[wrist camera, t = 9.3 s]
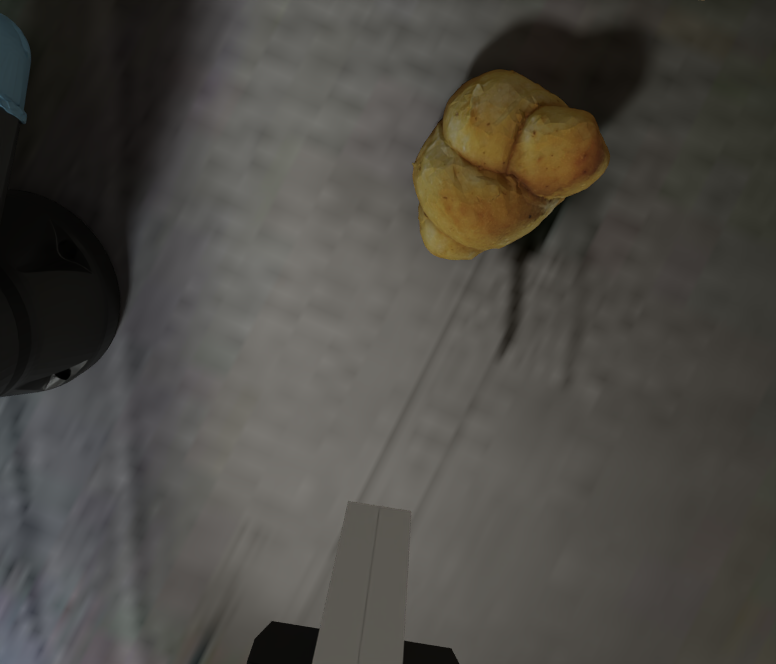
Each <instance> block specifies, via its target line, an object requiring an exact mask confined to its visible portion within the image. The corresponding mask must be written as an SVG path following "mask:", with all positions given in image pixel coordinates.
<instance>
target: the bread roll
mask: <svg viewBox="0 0 776 664" xmlns="http://www.w3.org/2000/svg"><path fill="white" fill-rule="evenodd" d="M609 160H610V154H609V151H608V148H607V146H606V144H605V142H604V139H603V137H602V135H601V133H600V131H599V127H598V124H597V122H596V120H595V118H594V116H593V115H592V114H591V113H589V112H587V111H584V110H577V109H575V108H569V107H568V106H567V105H566V104H565V103H564V102H563V101H562V100H561V99H560V98H559V97H558V96H556V95H554V94H552V93H551V92H550V91H548V90H545V89H544V88H543V87H541V86H540V85H539V84H535V83H534V82H532V81H531V80H529V79H527V78H526V77H524V76H523V75H521V74H518V73H516V72H514V71H513V70H511V71H508V70H502V69H497V70H492V71H489V72H486V73H483V74H481V75H480V76H477V77H475V78H472V79H471V80H469V81H467V82H466V83H464V84H463V85H462V86H461V87H460V88H459V89H458V90H457V91H456V92H455V93H454V94H453V95H452V96H451V98H450V99H449V101H448V103H447V105H446V108H445V111H444V116H443V119H442V120H440V121H439V123H438V124H437V126H436V127H435V128H434V130H433V131H432V133H431V134H430V136H429V137H428V139H427V140H426V141H425V143H424V145H423V146H422V148H421V150H420V152H419V154H418V156H417V158H416V161H415V163H412V165H413V166H414V169H413V182H414V186H415V190H416V194H417V197H418V199H419V202H420V203H419V207H418V210H419V217H418V219H419V221H420V233H421V236H422V239H423V242H424V244H425V246H426V248H427V249H428V250H429V251H430V252H431V254H433V255H435V256H437V257H440V258H445V259H450V260H469V259H473V258H474V257H475V256H477V255H478V254H480V253H481V252H483V251H485V250H488V249H493V248H498V249H499V248H501V247H504V246H506V245H508V244H510V243H511V242H513V241H515V240H517V239H519V238H521V237H522V236H524V235H526V234H528V233H529V232H531V231H532V230H533V229H534V228H536V227H537V226H538V225H539V224H540V222H541V221H542V220H543V219H545V218H546V217H547V216H548V215H549V214H550V212H551V211H552V210H553V209H554V208H555V206H557V205H558V204H559V203H560V202H562V201H563V200H564V199H565V197H567V196H570V195H573V194H576V193H578V192H580V191H582V190H584V189H586V188H588V187H589V186H590V185H591V184H592V183H594V182H595V181H596V180H597V179H598V178H599V177H600V176H601V175H602V174H603V173H604V172H605V170H606V168H607V166H608V164H609Z"/></svg>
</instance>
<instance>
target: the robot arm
mask: <svg viewBox="0 0 776 664" xmlns="http://www.w3.org/2000/svg"><path fill="white" fill-rule="evenodd" d="M30 66H31V51H30V47H29V44H28V41H27V39H26V37H25V35H24V34H23V32H22V31H21V29H20V28H19V27H18V26H17V25H16V24H15V23H14V22H13V21H12V20H10V19H9V18H8V17H6V16H5V15H3V14H1V13H0V397H5V396H13V395H20V394H28V393H35V392H41V391H46V390H50V389H53V388H56V387H59V386H61V385H63V384H65V383H67V382H69V381H71V380H73V379H74V378H76V377H77V376H79V375H80V374H82V373H83V372H84V371H86V370H87V369H89V368H90V367H91V366H93V365H94V364H95V363H96V362H97V361H98V360H99V359H100V358H101V357H102V355H103V354H104V353H105V351H106V350H107V349H108V347H109V345H110V343H111V341H112V339H113V337H114V334H115V332H116V328H117V325H118V319H119V311H120V297H119V289H118V284H117V279H116V276H115V272H114V270H113V267H112V264H111V262H110V260H109V258H108V256H107V254H106V252H105V250H104V248H103V247H102V245H101V244H100V242H99V241H98V239H97V238H96V237H95V235H94V234H93V233H92V232H91V231H90V230H89V228H88V227H87V226H86V225H85V224H84V223H83V222H82V221H81V220H79V219H78V218H77V217H76V216H75V215H74V214H72V213H71V212H70V211H68V210H67V209H65V208H64V207H62V206H60V205H59V204H57V203H55V202H53V201H51V200H49V199H47V198H44V197H42V196H39V195H36V194H33V193H29V192H25V191H19V190H7V188H8V183H9V178H10V173H11V168H12V164H13V159H14V154H15V149H16V144H17V139H18V134H19V129H20V124H25V123H26V120H27V114H26V112H25V111H24V105H25V98H26V92H27V85H28V79H29V72H30ZM410 526H411V511H407V510H401V509H395V508H388V507H382V506H376V505H369V504H363V503H357V502H350V501H348V504H347V509H346V513H345V518H344V522H343V527H342V531H341V536H340V540H339V545H338V549H337V554H336V558H335V563H334V567H333V572H332V576H331V581H330V585H329V590H328V594H327V599H326V603H325V607H324V612H323V616H322V621H321V625H320V629H318V628H311V627H305V626H299V625H293V624H287V623H281V622H274V621H272V622H271V623H270V624H269V625H268V626H267V627H266V628H265V629H264V630H263V631H262V632H261V633H260V634H259V635H258V636H257V637H256V638H255V640H254V643H253V646H252V649H251V651H250V654H249V657H248V660H247V664H459V662H458V660H457V659H456V657H455V655H454V653H453V651H452V649H451V648H446V647H439V646H433V645H427V644H421V643H415V642H409V641H404V632H405V614H406V597H407V579H408V561H409V544H410Z"/></svg>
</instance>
